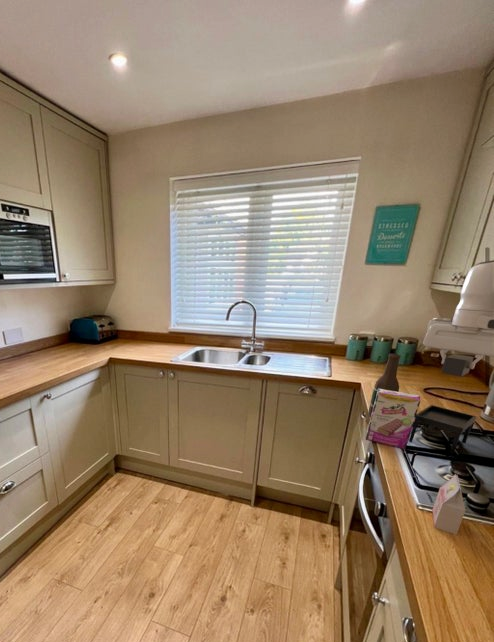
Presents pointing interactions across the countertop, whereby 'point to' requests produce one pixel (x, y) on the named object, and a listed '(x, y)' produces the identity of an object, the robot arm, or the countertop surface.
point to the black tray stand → (445, 422)
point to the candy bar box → (392, 418)
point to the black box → (456, 365)
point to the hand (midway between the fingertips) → (457, 366)
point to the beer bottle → (387, 379)
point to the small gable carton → (449, 506)
